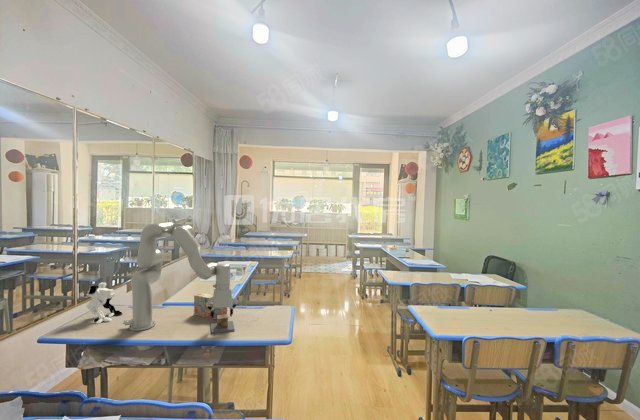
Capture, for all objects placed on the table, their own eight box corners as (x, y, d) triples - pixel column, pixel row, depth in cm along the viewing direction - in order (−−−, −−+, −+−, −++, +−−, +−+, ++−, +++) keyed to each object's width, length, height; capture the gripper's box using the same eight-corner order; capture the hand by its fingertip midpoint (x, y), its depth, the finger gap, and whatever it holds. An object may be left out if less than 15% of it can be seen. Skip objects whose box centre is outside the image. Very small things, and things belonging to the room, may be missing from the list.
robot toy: (105, 324, 170) (104, 289, 170) (80, 324, 170) (79, 289, 170) (126, 312, 189) (126, 280, 189) (104, 312, 189) (103, 280, 188)
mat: (211, 333, 160) (211, 332, 160) (211, 325, 171) (211, 323, 171) (234, 330, 164) (234, 329, 164) (232, 322, 176) (232, 320, 176)
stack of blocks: (227, 317, 184) (227, 297, 184) (220, 320, 178) (220, 300, 178) (201, 311, 193) (201, 292, 193) (193, 314, 187) (193, 295, 187)
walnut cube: (217, 328, 164) (217, 318, 164) (217, 325, 169) (217, 315, 169) (227, 327, 166) (227, 317, 166) (227, 323, 171) (227, 314, 171)
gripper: (206, 289, 161) (205, 320, 161) (239, 287, 167) (238, 317, 167) (206, 285, 168) (205, 315, 168) (238, 283, 174) (237, 312, 174)
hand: (221, 316), depth 168 cm, fingers open, 9 cm apart
